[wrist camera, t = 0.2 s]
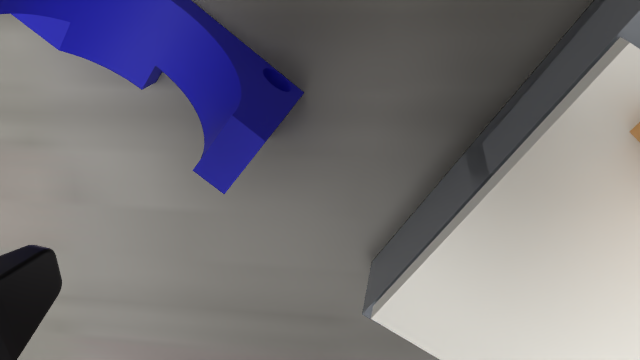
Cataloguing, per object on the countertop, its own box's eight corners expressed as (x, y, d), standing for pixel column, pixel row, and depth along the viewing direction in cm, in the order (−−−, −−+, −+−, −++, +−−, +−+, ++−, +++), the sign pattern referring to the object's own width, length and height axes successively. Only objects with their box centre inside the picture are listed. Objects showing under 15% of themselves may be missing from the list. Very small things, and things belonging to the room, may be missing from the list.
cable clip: (54, 0, 23) (-59, 21, 17) (87, -86, 20) (-30, -91, 15) (254, 155, 24) (205, 217, 19) (305, 91, 22) (265, 141, 17)
